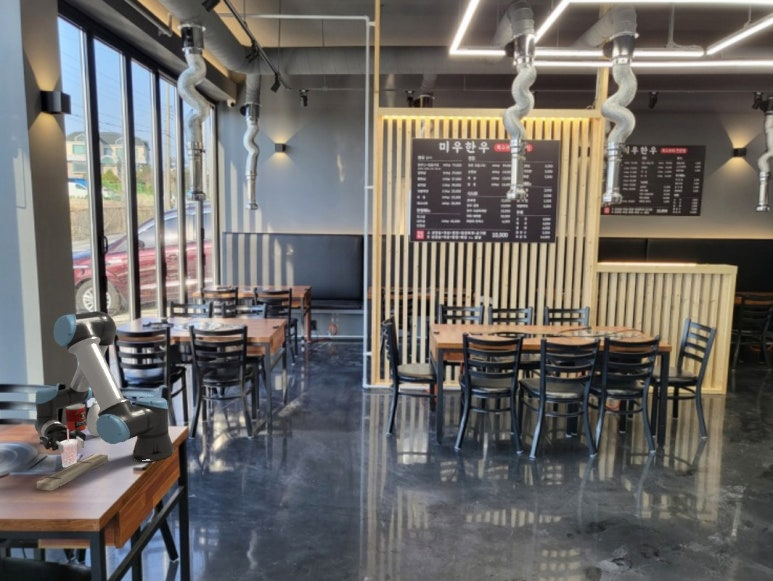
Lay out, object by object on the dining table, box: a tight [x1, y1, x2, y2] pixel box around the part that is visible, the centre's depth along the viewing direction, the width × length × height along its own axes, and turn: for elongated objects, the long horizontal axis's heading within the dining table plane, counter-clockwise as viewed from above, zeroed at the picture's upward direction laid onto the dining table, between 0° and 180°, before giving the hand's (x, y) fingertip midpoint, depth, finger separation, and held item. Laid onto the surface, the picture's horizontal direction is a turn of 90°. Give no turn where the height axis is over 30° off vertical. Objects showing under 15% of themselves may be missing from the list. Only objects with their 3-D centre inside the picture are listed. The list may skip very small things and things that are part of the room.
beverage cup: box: [60, 429, 78, 468], centre depth 200 cm, size 6×6×14 cm
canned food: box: [65, 403, 87, 432], centre depth 242 cm, size 8×8×11 cm
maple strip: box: [36, 453, 109, 492], centre depth 194 cm, size 6×26×3 cm, turn 166°
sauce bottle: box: [86, 398, 100, 437], centre depth 234 cm, size 8×8×18 cm
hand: (72, 446), depth 196 cm, fingers closed on beverage cup, 6 cm apart
